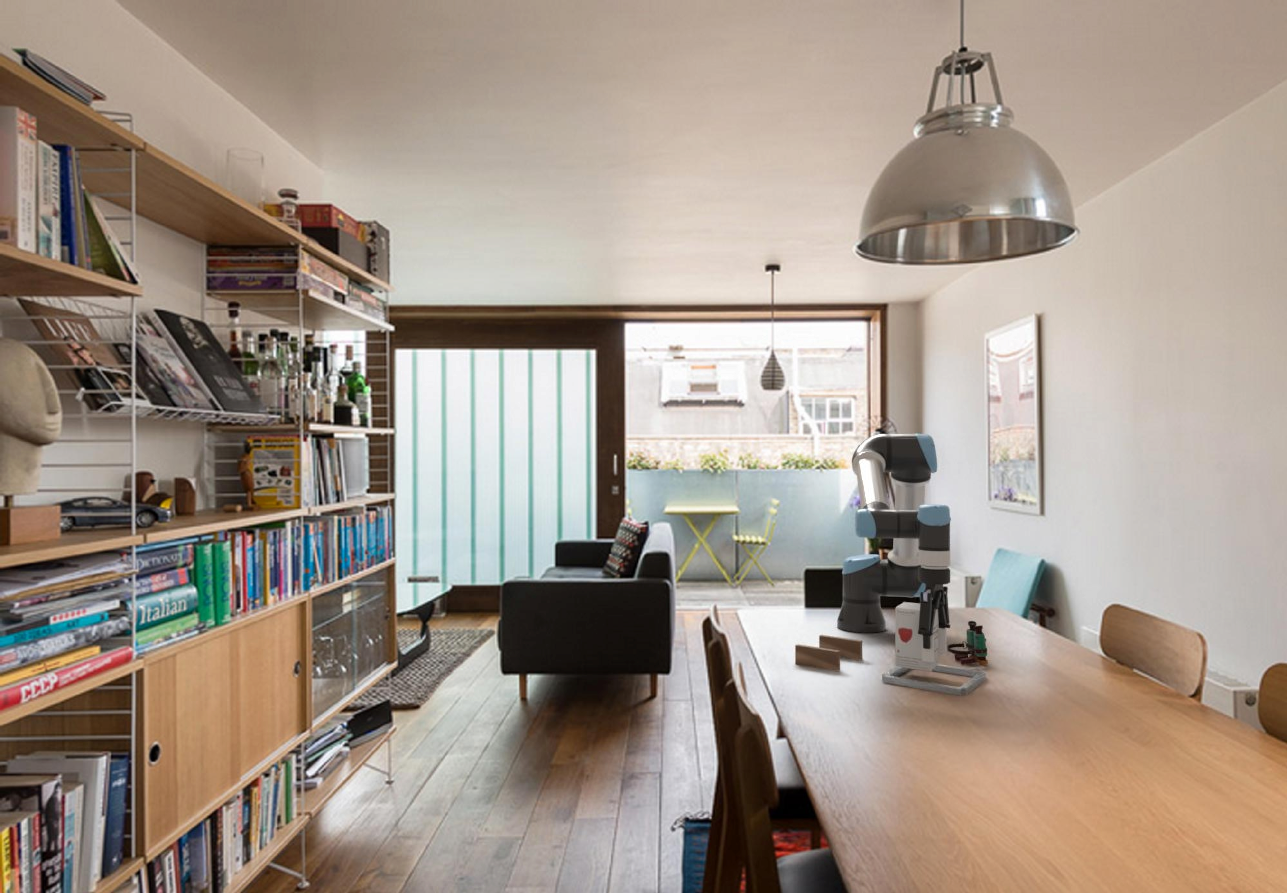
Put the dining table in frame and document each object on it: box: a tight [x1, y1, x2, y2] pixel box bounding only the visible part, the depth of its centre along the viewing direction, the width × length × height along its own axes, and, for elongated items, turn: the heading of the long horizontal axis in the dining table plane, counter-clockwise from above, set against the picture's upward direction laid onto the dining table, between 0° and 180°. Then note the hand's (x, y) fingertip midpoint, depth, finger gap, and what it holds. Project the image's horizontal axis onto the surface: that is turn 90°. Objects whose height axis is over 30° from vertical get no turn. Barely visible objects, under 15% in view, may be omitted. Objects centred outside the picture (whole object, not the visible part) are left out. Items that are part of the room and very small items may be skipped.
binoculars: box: [947, 620, 989, 666], centre depth 223 cm, size 9×11×10 cm
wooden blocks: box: [794, 634, 863, 672], centre depth 224 cm, size 16×12×5 cm
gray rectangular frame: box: [881, 663, 987, 697], centre depth 206 cm, size 20×20×2 cm
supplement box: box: [894, 601, 939, 672], centre depth 208 cm, size 9×9×15 cm
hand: (934, 657), depth 206 cm, fingers closed on supplement box, 9 cm apart
